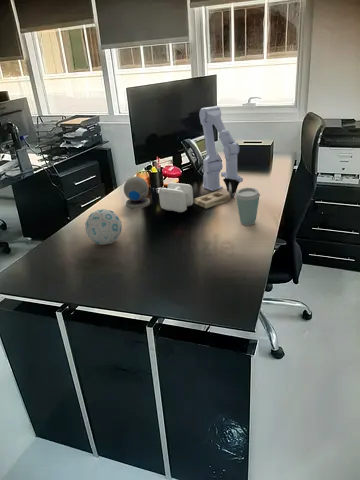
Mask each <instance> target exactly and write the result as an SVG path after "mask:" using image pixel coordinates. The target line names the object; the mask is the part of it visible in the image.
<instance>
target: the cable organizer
mask: <svg viewBox="0 0 360 480" xmlns="http://www.w3.org/2000/svg"><path fill="white" fill-rule="evenodd" d="M193 191H194V190H193V186H192V185H191V184H188V183H187V184H186V183H181V182H180V183H179V182H172V181H171V182H169V183H168V184H167V188H166V187H161V188H159V189H158V197H159V205H160V208H161V209H163V210H165V211H172V212H177V213H183V212H185V211H187V210H188V208H187V207H189V206H192V205H193V204H194V192H193Z"/></svg>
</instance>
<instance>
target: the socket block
mask: <svg viewBox="0 0 360 480" xmlns="http://www.w3.org/2000/svg"><path fill="white" fill-rule="evenodd" d="M228 201H229V202H230V201H231V197H230V195H229V194H227V193H225V192H221V191H219V190H217V191H216V190H215V191H212V192H210V193H208V194H205V195H202V196H198V197H196V198H193V204H196V205H197V206H199V207H201V208H204V209H209V208H211V207H214V206H217V205H220V204H223V203H225V202H226V203H227V202H228Z"/></svg>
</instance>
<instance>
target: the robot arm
mask: <svg viewBox="0 0 360 480" xmlns="http://www.w3.org/2000/svg"><path fill="white" fill-rule="evenodd" d="M198 116H199V121H200V125H202V129H203V130H202V131H203V139H204V143H205V150H206V156H205V157H204V159H203V160H202V170H203V172H204V173H203V176H202V181H203V186H202V187H201V188H203V189H206V190H209V191H212V192H215V191H216V190H217V191H218V190H220V189H223V188H224V186H222V185H221V183H220V182H221V181H220V175H221V177H222V178H223V177H224V178H223V179H222V181H223V182H224V184H225V187H226V190H227V192H228V193H229V182H230V184H231V187H232V193H233V194H234V193H235V194H236V192H237V191H238V187H239V184H240V183H242V182H243V181H244V178H243V177H241V175H239V174H238V155H239V153H240V149H241V148H240V144H239V143H238V142H237V141H236V140H234V139H233V136H232V135H231V133H230V131H229V130H227V129H226V126H225V125H224V122H223V120H222V118H221V117H222V111H221V108H220V107H219V106H218V105H215V106H207V107H202V108H200V110H199V115H198ZM213 125H214V126H213ZM213 127H215V129H216V131H217V132H218V134H219V135H218V138H219V141H220V142H221V144H222V146H223V148H222V149H223V154H224V159H225V172H224V171H223V172H221V171H222V170H223V165H224V164H223V162H222V158H221V156H219V155H217V152H216V151H217V149H216V144H215V136H214V130H213V129H214V128H213Z"/></svg>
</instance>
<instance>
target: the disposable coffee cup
mask: <svg viewBox="0 0 360 480" xmlns="http://www.w3.org/2000/svg"><path fill="white" fill-rule="evenodd" d="M260 197H261V193H259V190H258V189H257V188H255V187H243V188H239V189H237V190H236V193H235V197H234V198H235V201H236V206H237V210H238V217H239V221H240V224H242V225H243V226H252V225H254V224H255V223H256V221H257V217H258V216H257V215H258V209H259V203H260Z"/></svg>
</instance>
